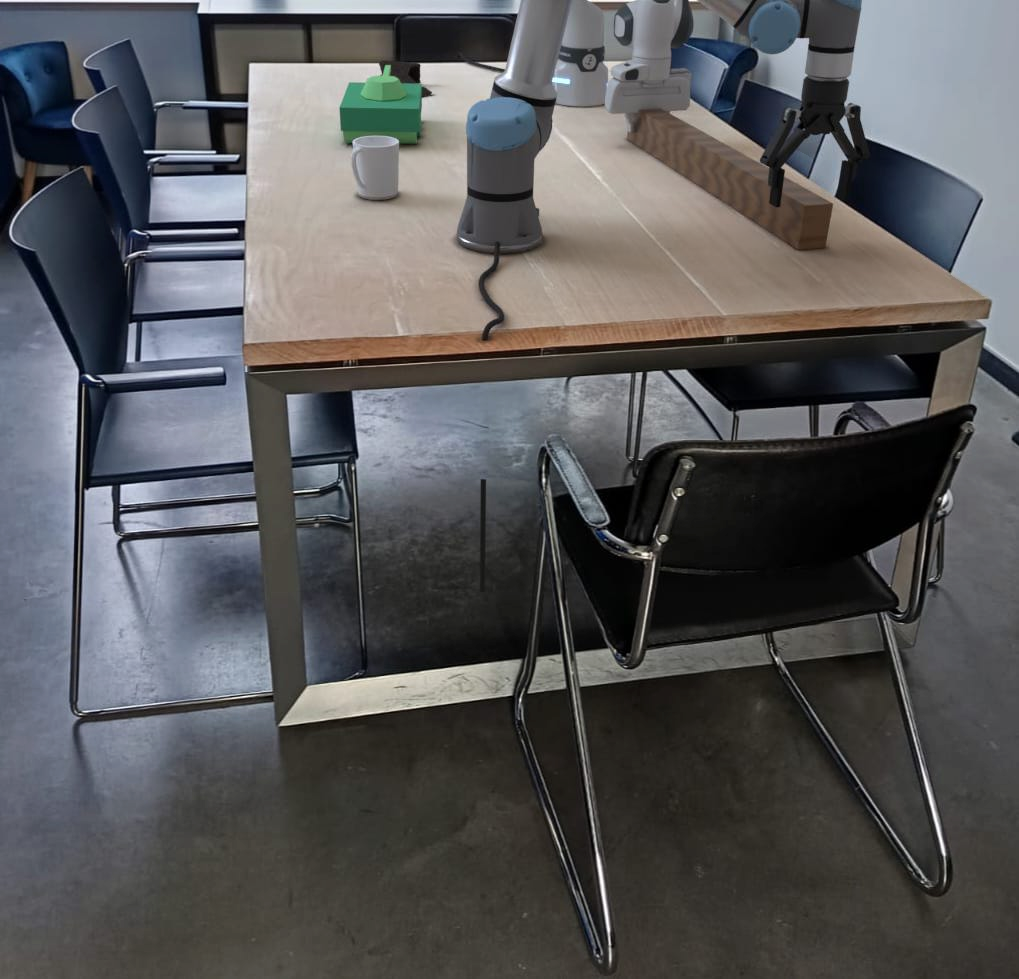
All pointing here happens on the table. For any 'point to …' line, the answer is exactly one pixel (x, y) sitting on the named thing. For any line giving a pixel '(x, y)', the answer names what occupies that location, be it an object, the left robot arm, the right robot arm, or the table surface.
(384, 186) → the mug
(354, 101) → the green tank
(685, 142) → the bar
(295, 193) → the table surface
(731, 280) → the table surface
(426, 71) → the table surface
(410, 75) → the axe head
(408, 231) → the table surface
